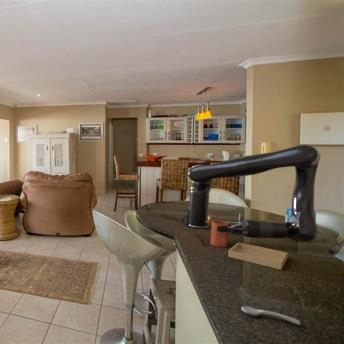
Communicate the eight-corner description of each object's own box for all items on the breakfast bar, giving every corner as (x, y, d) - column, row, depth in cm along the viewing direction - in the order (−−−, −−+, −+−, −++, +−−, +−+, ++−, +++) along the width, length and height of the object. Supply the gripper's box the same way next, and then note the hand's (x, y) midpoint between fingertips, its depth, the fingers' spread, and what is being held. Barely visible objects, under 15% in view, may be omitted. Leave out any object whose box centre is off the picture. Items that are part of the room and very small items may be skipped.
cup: (208, 244, 127) (209, 222, 127) (213, 241, 132) (214, 219, 131) (224, 248, 123) (226, 225, 122) (229, 244, 127) (230, 222, 126)
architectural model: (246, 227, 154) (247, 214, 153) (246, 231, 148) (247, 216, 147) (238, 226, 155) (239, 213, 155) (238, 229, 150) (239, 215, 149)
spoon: (239, 308, 77) (241, 301, 76) (296, 323, 72) (298, 316, 72) (242, 314, 74) (243, 307, 74) (301, 330, 69) (302, 322, 69)
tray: (228, 256, 113) (228, 250, 113) (237, 248, 123) (238, 242, 123) (281, 269, 102) (281, 262, 101) (287, 259, 111) (287, 252, 111)
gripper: (249, 216, 130) (208, 214, 134) (266, 224, 116) (221, 222, 120) (248, 232, 131) (207, 230, 134) (265, 243, 117) (220, 240, 120)
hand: (214, 226), depth 127 cm, fingers closed on cup, 6 cm apart
